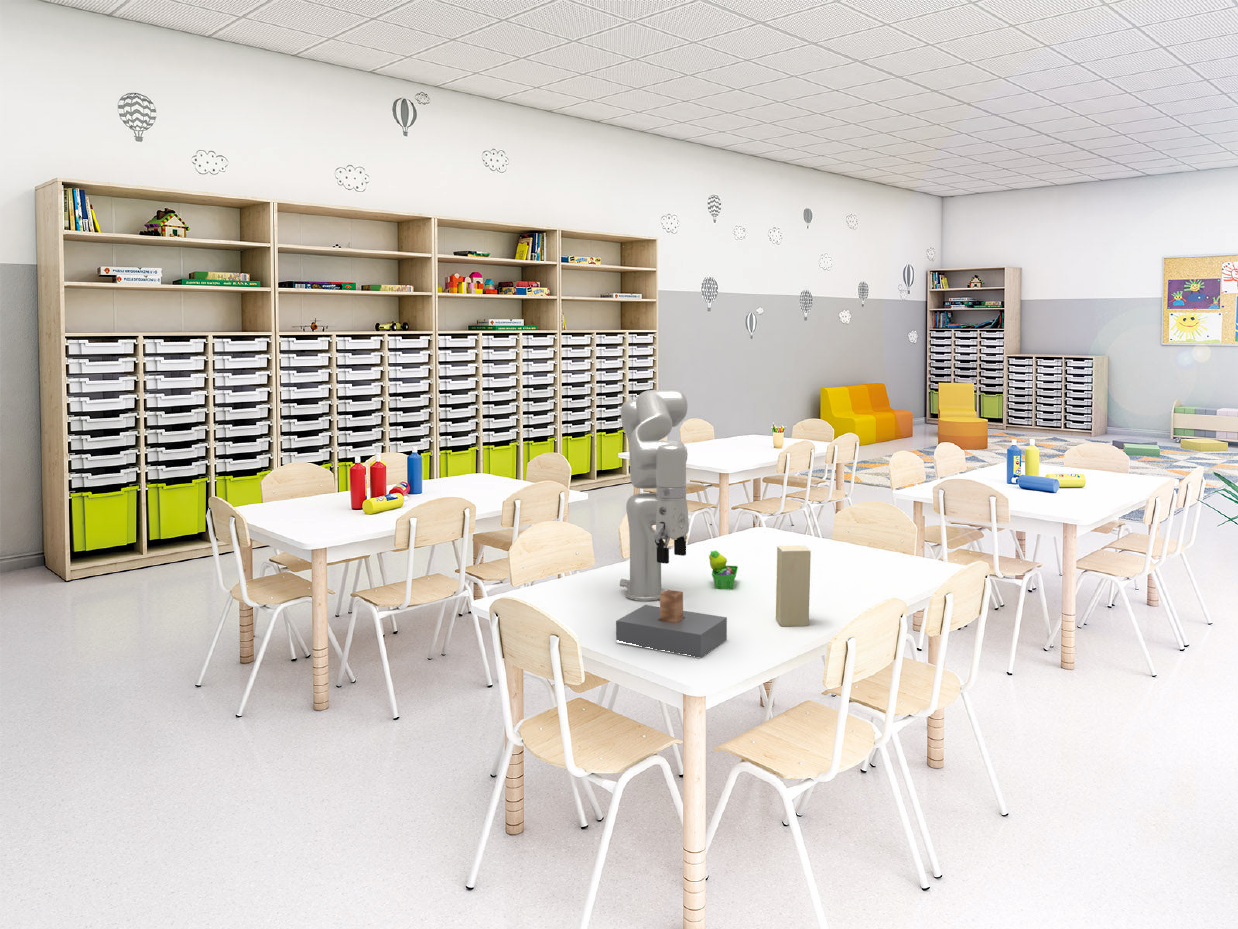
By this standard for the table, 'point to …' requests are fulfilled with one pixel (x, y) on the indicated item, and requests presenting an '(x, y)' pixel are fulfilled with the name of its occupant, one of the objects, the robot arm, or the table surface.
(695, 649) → the grey block with hole
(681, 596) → the wooden block
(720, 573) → the fruit basket
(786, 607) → the tall beige block
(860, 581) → the table surface
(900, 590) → the table surface
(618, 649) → the table surface
